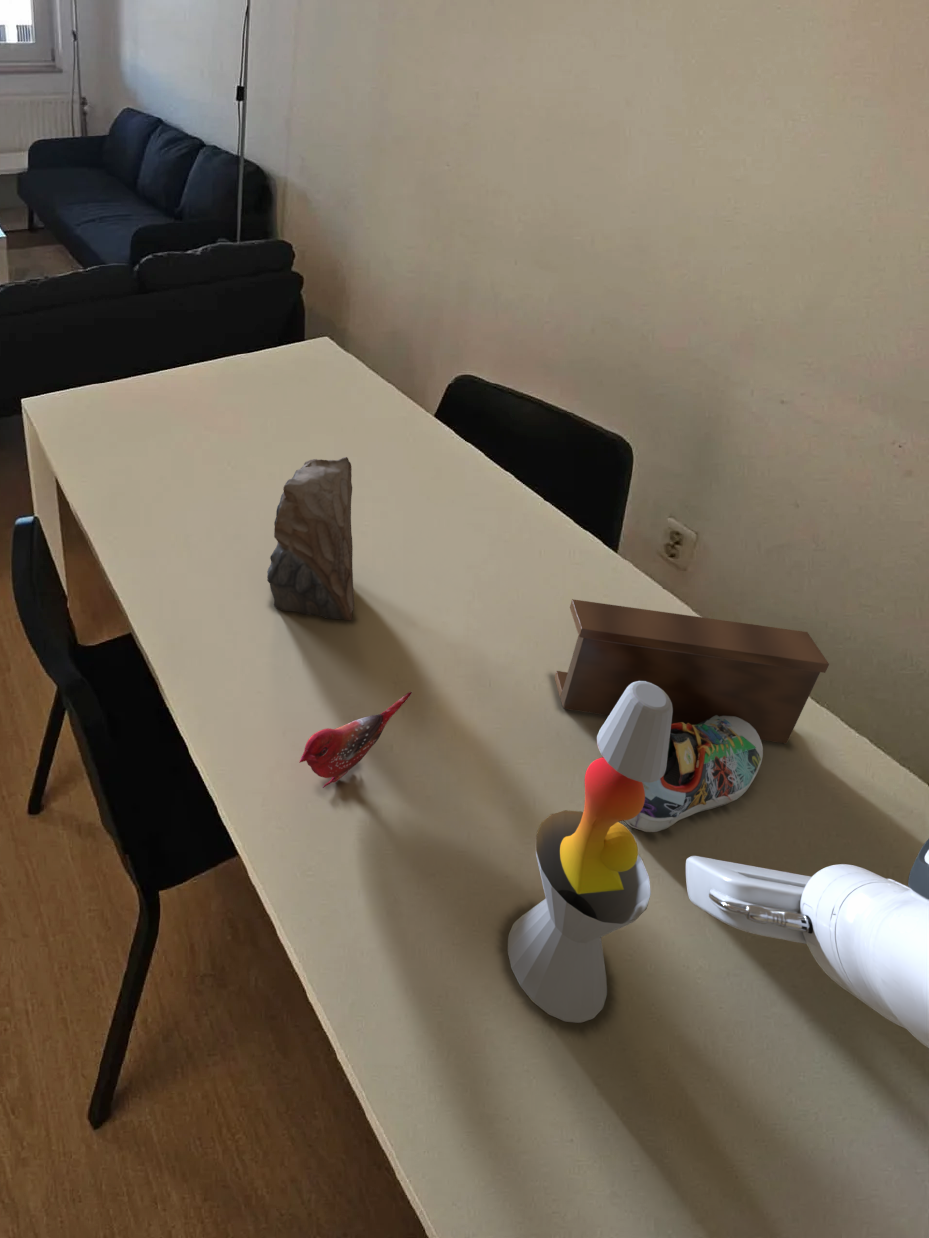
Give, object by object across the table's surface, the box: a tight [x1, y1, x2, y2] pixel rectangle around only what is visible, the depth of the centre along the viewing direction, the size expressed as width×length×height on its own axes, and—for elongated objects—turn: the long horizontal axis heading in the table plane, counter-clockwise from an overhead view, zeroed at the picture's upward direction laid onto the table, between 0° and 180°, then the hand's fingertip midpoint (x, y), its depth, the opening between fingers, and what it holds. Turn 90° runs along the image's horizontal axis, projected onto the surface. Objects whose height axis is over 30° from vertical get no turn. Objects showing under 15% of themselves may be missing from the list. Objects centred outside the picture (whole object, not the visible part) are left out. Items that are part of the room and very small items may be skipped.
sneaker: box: [624, 715, 764, 833], centre depth 85 cm, size 8×22×10 cm, turn 116°
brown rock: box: [266, 456, 355, 621], centre depth 110 cm, size 13×13×20 cm
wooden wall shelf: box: [554, 598, 830, 745], centre depth 93 cm, size 27×5×13 cm, turn 81°
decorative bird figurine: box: [299, 691, 413, 789], centre depth 86 cm, size 3×18×10 cm, turn 126°
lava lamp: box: [507, 681, 673, 1024], centre depth 63 cm, size 9×9×35 cm
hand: (773, 880), depth 72 cm, fingers closed
